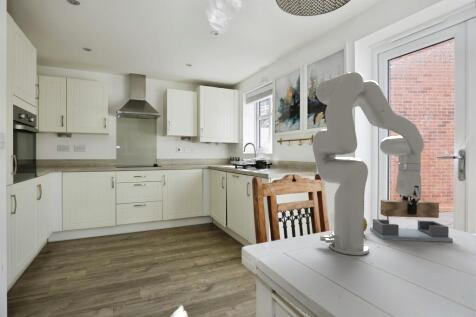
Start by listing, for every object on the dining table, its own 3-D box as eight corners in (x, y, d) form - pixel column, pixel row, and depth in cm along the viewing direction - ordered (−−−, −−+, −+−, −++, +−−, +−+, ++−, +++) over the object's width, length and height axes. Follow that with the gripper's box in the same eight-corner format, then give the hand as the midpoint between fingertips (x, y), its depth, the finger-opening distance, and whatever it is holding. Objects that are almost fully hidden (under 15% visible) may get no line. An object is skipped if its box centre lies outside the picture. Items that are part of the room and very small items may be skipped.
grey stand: (382, 239, 98) (382, 225, 98) (369, 229, 110) (370, 218, 110) (452, 241, 95) (452, 228, 95) (431, 232, 107) (432, 219, 107)
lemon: (367, 233, 105) (367, 214, 105) (366, 236, 101) (366, 216, 100) (353, 230, 108) (353, 212, 108) (351, 234, 104) (351, 215, 103)
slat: (385, 216, 101) (385, 201, 101) (380, 214, 105) (380, 199, 105) (438, 217, 99) (439, 202, 99) (432, 215, 103) (432, 200, 103)
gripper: (389, 166, 111) (388, 208, 111) (411, 168, 94) (410, 217, 94) (407, 166, 110) (407, 208, 110) (432, 169, 93) (432, 218, 93)
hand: (408, 212), depth 102 cm, fingers closed on slat, 4 cm apart
